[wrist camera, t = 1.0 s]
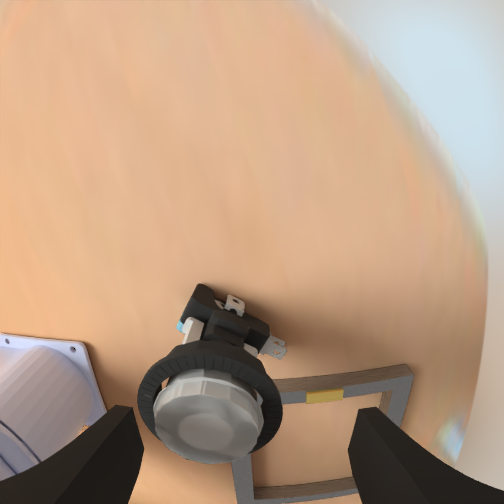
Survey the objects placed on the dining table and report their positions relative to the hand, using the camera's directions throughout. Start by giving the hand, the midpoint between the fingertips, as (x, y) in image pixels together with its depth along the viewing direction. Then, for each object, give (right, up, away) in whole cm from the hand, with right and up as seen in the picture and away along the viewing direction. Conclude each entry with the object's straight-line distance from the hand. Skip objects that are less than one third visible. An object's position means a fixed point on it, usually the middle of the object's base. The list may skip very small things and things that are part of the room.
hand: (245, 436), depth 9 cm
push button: (-1, +2, +11) cm, 11 cm away
